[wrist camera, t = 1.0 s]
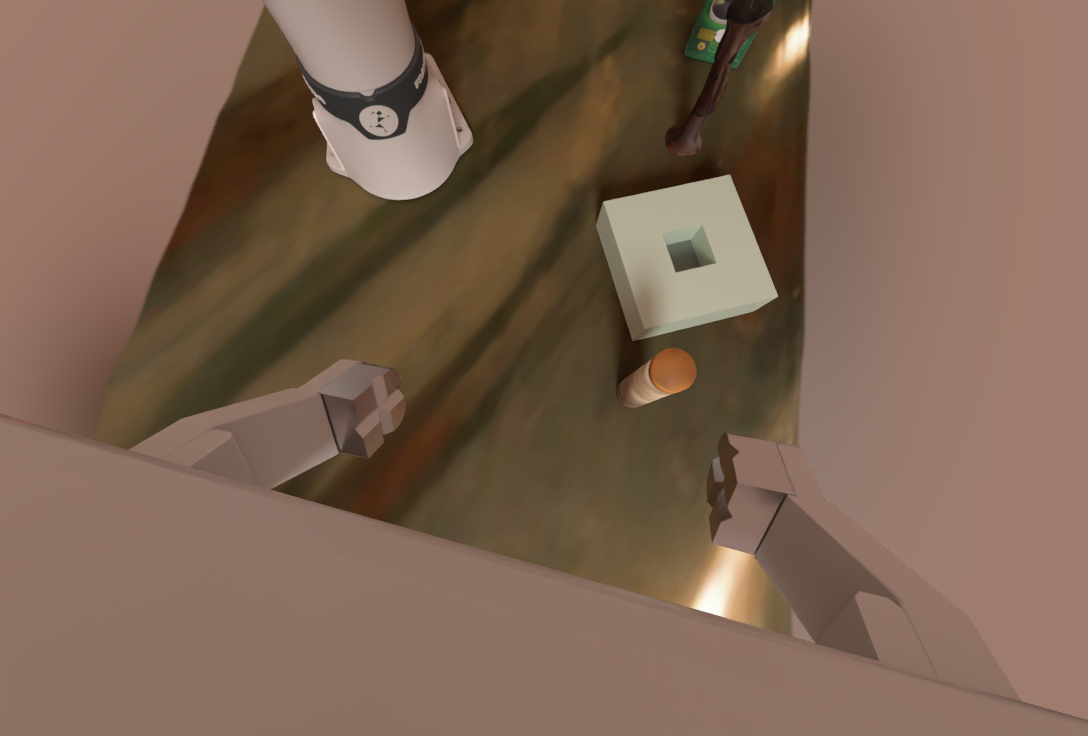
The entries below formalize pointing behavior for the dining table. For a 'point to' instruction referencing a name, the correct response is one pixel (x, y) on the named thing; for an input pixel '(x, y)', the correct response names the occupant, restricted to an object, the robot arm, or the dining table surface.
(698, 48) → the coffee box
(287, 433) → the robot arm
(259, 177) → the dining table surface
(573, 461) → the dining table surface
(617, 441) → the dining table surface
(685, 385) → the pin
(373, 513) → the dining table surface
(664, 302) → the bore block
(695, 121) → the figurine
